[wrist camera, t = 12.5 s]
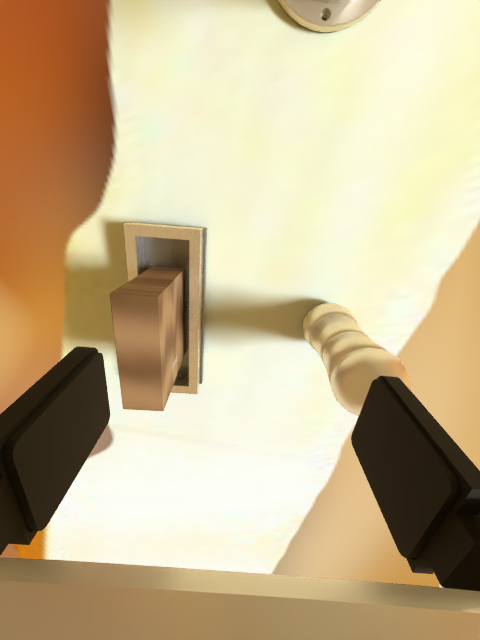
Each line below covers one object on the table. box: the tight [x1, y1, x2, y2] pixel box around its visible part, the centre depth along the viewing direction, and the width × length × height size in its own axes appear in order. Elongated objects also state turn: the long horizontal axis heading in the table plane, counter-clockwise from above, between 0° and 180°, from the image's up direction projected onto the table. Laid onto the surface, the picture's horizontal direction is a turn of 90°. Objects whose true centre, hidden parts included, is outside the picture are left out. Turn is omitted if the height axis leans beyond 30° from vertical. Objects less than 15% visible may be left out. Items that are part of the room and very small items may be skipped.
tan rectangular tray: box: [123, 222, 207, 394], centre depth 35 cm, size 22×9×4 cm, turn 176°
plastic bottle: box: [303, 303, 411, 416], centre depth 28 cm, size 6×7×20 cm
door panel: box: [110, 266, 185, 411], centre depth 30 cm, size 12×4×12 cm, turn 176°
